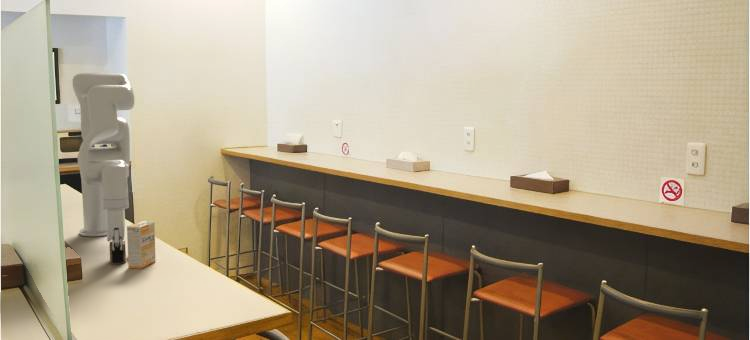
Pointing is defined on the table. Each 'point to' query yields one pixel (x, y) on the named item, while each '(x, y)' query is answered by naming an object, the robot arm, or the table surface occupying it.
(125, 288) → the table surface
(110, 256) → the walnut block
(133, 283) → the table surface
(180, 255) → the table surface
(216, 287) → the table surface
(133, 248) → the supplement box
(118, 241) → the robot arm
